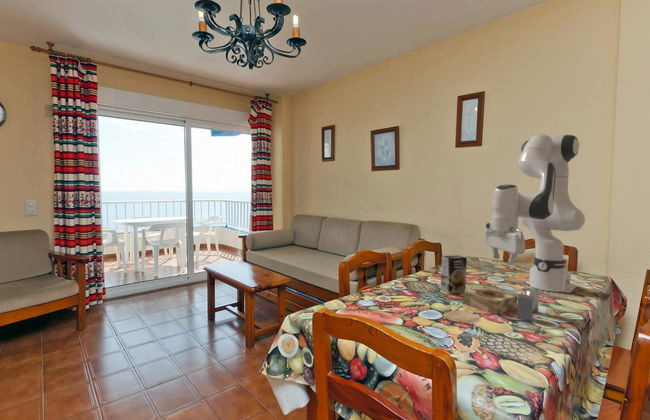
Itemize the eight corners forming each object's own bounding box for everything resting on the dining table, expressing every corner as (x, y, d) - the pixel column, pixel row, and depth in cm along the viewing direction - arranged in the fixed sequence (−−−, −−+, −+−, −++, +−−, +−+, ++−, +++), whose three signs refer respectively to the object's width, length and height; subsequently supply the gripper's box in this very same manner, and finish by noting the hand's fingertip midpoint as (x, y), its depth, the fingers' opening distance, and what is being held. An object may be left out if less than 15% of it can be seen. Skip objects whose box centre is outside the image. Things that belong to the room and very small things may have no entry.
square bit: (518, 314, 121) (519, 293, 121) (532, 317, 118) (533, 296, 118) (516, 318, 118) (517, 296, 117) (531, 321, 115) (532, 299, 114)
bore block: (483, 298, 140) (483, 286, 140) (516, 308, 128) (517, 295, 128) (463, 303, 133) (463, 291, 132) (496, 315, 121) (497, 301, 121)
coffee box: (448, 294, 145) (449, 258, 144) (440, 289, 151) (441, 255, 150) (466, 292, 148) (467, 257, 147) (456, 288, 154) (457, 254, 153)
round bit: (528, 308, 127) (529, 288, 127) (540, 312, 124) (541, 291, 123) (523, 311, 125) (523, 290, 125) (534, 314, 122) (535, 293, 121)
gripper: (530, 229, 117) (529, 267, 118) (497, 223, 137) (496, 255, 138) (513, 229, 116) (512, 267, 117) (482, 223, 137) (481, 256, 138)
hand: (503, 261), depth 128 cm, fingers open, 8 cm apart
